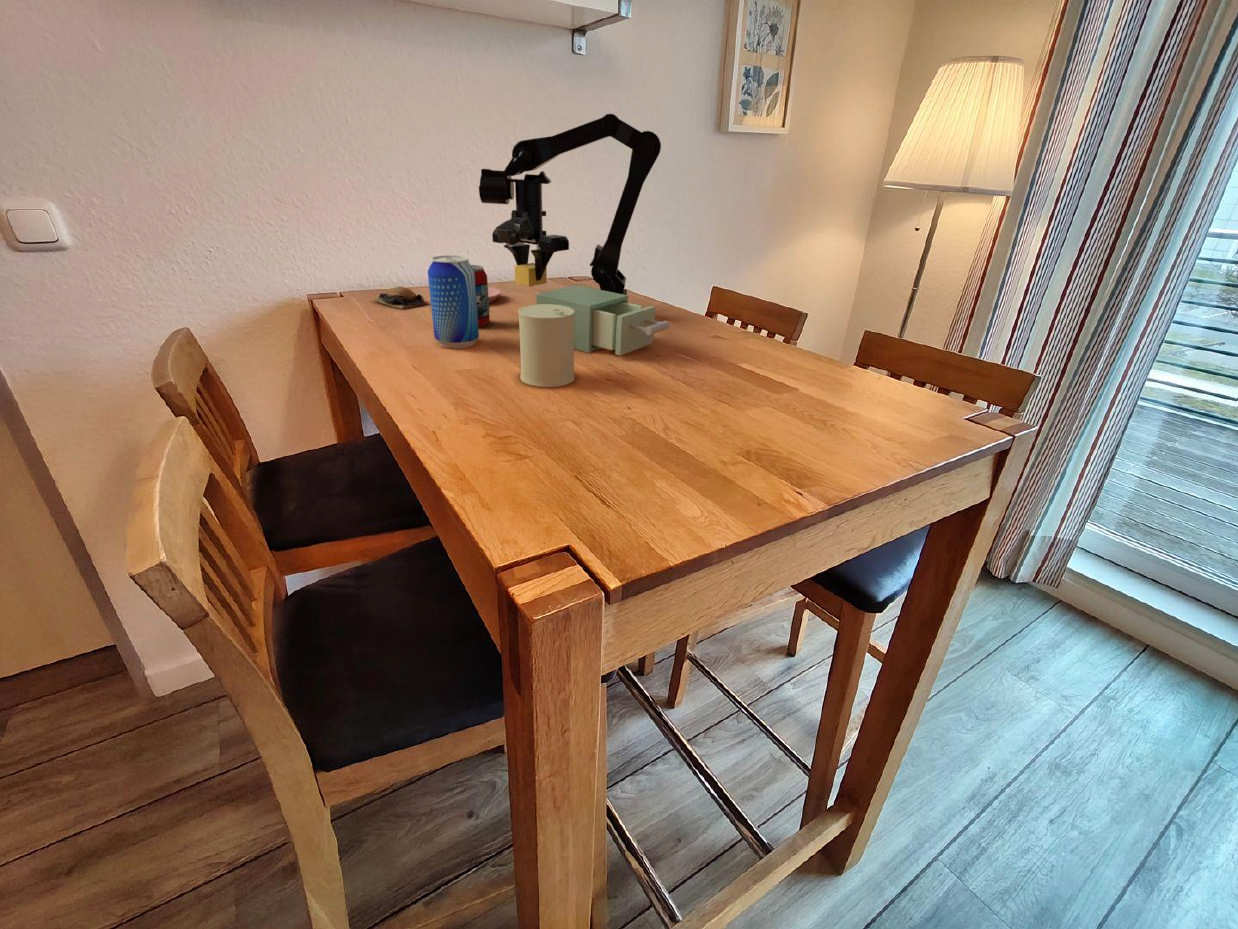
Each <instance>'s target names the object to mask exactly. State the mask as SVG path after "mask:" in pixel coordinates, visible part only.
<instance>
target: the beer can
mask: <svg viewBox="0 0 1238 929" xmlns="http://www.w3.org/2000/svg"><path fill="white" fill-rule="evenodd" d="M471 265H472V264H471V263H470V262H469V257H467V256H463V255H452V254H450V255H445V254H444V255H436V256H432V258H431V263H430V265H429V267H428V269H427V279H428V289H429V297H430V308H431V316H432V327H433V335H434V340H436V341H437V342H438V344H439V346H440V347H442V348H446V349H455V350H457V349H458V350H459V349H467V348H471V347H473V346H475V345H476V343H477V340H479V337H480V332H479V330H480V329H479V327H478V315H477V300H476V285H475V272H474V269H473V268H472V266H471Z"/></svg>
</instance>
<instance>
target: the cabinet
mask: <svg viewBox="0 0 1238 929" xmlns="http://www.w3.org/2000/svg"><path fill="white" fill-rule="evenodd" d="M535 297H536V298H535V300H536V301H535V302H536V304H554V305H562V306H566V307H569V308H572V309H573V310H574V311H575V314H574V350H577V351H581V352H584V353H588V354H590V353H592V352H595V351H598V350H602V348H601V347H597V346H594V345H591V343H592V309H595V308H599V307H603V306H606V305H610V304H614V303H617V302H626V303H629V295H628V294H627V295H623V294H618V293H613V292H608V291H603V290H601V289H600V288H593V287H589V286H583V285H579V284H575V285H570V286H566V287H561V288H555V289H552V290H547V291H543V292H538V293H536V294H535Z"/></svg>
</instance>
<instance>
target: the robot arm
mask: <svg viewBox="0 0 1238 929" xmlns="http://www.w3.org/2000/svg"><path fill="white" fill-rule="evenodd" d="M658 136H659V135H657V134H656V133H655V132H653V131H650V130H645V131H644V130H643V131H640V130H638V129H637V128H635V127H633V126H632V125H630V124H629V123H627V122H625V121H623V120H622V119H620V118H619V117H618V116H617V115H615V114H613V113H607V114H605V115H603V116H602V117H600V118H598V119H595V120H591V121H589V122H586V123H584V124H581V125H578V126H576V127H573V128H570V129H568V130H565V131H562V132H559V133H556V134H555V135H552V136H545V137H536V138H530V139H524V140H523V139H522V140H519V141H517V142H516V143H515V144H514V145H513V147H512V152H511V159H510V161H509V162H508V164H507V165H506V167H505V168H504V170H496V169H490V168H481V169H480V178H479V185H478V193H479V194H478V195H479V199H480V202H481V203H482V204H491V205H492V204H493V205H495V204H496V205H509V204H510V201H513V200H514V198H515V209H512V210H511V213H510V215H511V217H510V219H508V220H505V221H503V222H502V223H500V224H499V225H497V226H495V229H494V230H493V232H491V233H492V234H491V235H492V236H491V237H492V243H497V244H504V245H503V248H505V249H507V250H508V251H509V252H510V253H511V254H512V256H513V258H514V261H515V263H516V266H517V265H523V264H529V256H530V252H531V254H532V256H533V257H534V263H535V274H536V280H537V281H540V280H541V278H542V276H543V273H544V271H545V269H547V267H548V264H549V263H550V260H551V259H552V257H553V255H554V253H557V252H562V251H568V250H570V240H569V239H568V237H567V236H566V235H560V234H559V235H558V234H549V235H548V234H547V230H544V229H543V217H547V210H543V185H549V184H551V183H552V180H551V178H549V177H548V176H547V174H546V173H545V171H544V170H543V171H540V172H539V174H529V173H525V174H524V176H523V178H512V177H514V176H515V177H516V176H520V175H522V174H523V173H524V172H531V171H536V170H539V168H541V167H543V166H545V165H546V164H548V163H550V162H551V161H552V160H554V159H555V158H557V157H559V156H560V155H563V154H565V153H568V152H571V151H574V150H576V149H580V148H583V147H585V146H587V145H591V144H592V143H596V142H599V141H601V140H604V139H606V138H610V137H611V138H613V139H614V140H616V141H617V142H619V143H621V144H622V145H624V146H626V147H628V148H629V149H631V156H630V162H629V167H628V174H627V179H626V181H625V184H624V188H623V190H622V192H621V196H620V199H619V202H618V206H617V209H616V210H615V214H614V217H613V220H612V222H611V225H610V229H609V232H608V234H607V237H606V240H605V242H604V244H603V245H601V244H599V243H597V245H596V246H595V248H594V253H593V258H592V260H591V262H590V263H589V267H591V270H590V273H591V277H592V279H593V281H594V282H595V283H597V284H598V285H599V286H598V287H599V290H603V291H608V292H613V293H618V294H623V295H628V293H627V292H628V289H627V288H625V287H626V282H627V277H626V276H625V275H624V274H623V273H622V271H621V270H620V269H619V265H620V261H621V260H620V259H621V254H622V248H623V242H624V240H625V237H626V234H627V231H628V229H629V225H630V224H631V219H632V218H633V214H634V212H635V208H636V206H637V202H638V200H639V197H640V194H641V191H642V189H643V187H644V183H645V181H646V180H647V177H648V176H649V174H650V172H651V170H652V169H653V167H654V165H655V163H656V161H657V159H658V157H659V155H660V153H661V150H662V143H661V140H660V137H658ZM531 245H534V246H535V245H536V248H535V249H531V250H530V248H531Z"/></svg>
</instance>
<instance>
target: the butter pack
mask: <svg viewBox="0 0 1238 929" xmlns="http://www.w3.org/2000/svg"><path fill="white" fill-rule="evenodd" d="M547 271H548V270H547V268H546V269H545V271H544V273H543V276H542V278H541V280H540V281H537V280H536V274H535V262H530V263H529V262H528V264H523V265H517V264H516V265H514V284H515V285H520V286H524V287H529V288H530V287H535V286H540V285H545V284H547V280H548V278H547V275H548V273H547Z"/></svg>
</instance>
